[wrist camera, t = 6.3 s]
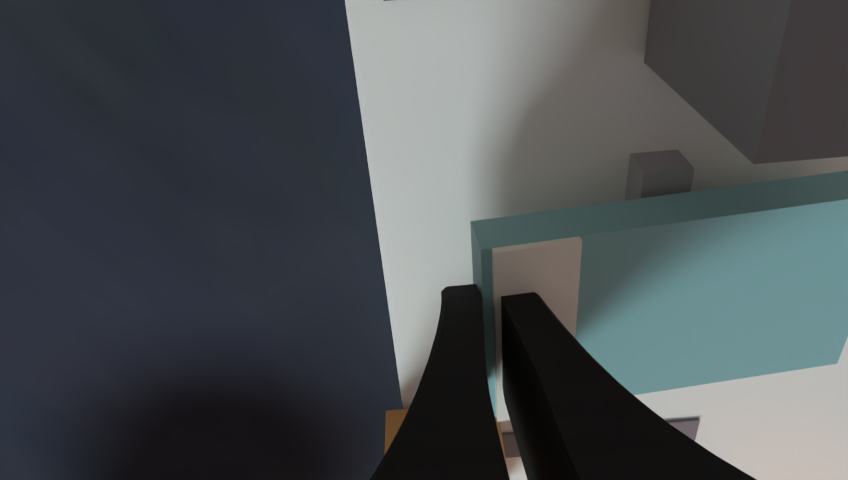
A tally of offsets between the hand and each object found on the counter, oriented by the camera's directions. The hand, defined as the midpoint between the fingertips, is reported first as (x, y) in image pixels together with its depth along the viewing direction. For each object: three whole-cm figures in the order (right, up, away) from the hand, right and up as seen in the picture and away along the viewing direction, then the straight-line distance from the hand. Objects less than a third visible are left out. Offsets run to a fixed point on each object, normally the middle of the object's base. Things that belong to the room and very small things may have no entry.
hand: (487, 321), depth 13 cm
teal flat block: (+4, 0, 0) cm, 4 cm away
